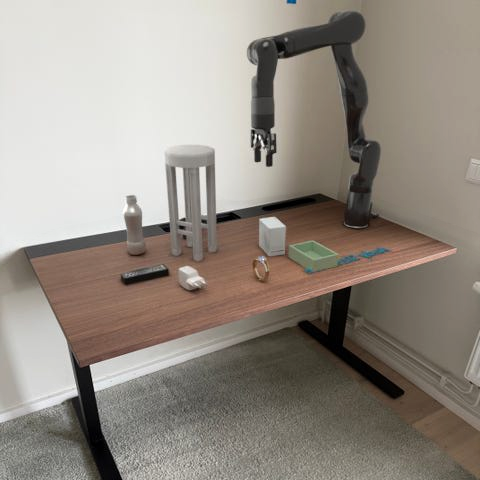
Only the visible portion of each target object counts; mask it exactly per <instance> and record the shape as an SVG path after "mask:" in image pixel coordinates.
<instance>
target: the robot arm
mask: <svg viewBox="0 0 480 480" xmlns="http://www.w3.org/2000/svg"><path fill="white" fill-rule="evenodd" d="M366 26H367V24H366V19H365V17H364V15H363V14H362V13H361V12H359V11H357V10H339V11H335V12H334V13H332V14H331V15H330V17H329V19H328V22H327V23H323V24H318V25H311V26H305V27H301V28H295V29H292V30H288V31H285V32H283V33H280V34H276V35H272V36H265V37H261V38H257V39H254V40H253V41H251V42H250V43H249V44H248V46H247V49H246V59H247V60H248V61H249V63H250V64H251V65H254V66H256V72H255V75H253V76H252V78H251V83H250V85H251V87H250V89H251V91H250V92H251V99H250V100H251V101H250V119H251V120H250V127H251V129H250V148H251V149H252V151H253V162H254V163H261V162H262V150H261V149H263V150H264V153H265V167H267V168H271V167H273V165H274V158H273V157H274V156H273V155H275V154H277V152H278V151H277V133H276V132H275V133H274V132H273V133H272V130H271V129H274V128H275V125H276V124H275V123H276V121H275V119H276V118H275V117H276V116H275V115H276V114H275V112H276V111H275V110H276V109H275V108H276V105H275V104H276V102H275V83H274V82H275V77H276V73H277V69H278V64H279V63H278V62H279V60H286V59H291V58H294V57H298V56H301V55H303V54H307V53H309V52H313V51H317V50H318V49H319V50H320V49H323V48H327V47H330V50H331V52H332V56H333V60H334V64H335V70H336V75H337V79H338V84H339V85H338V86H339V93H340V98H341V99H340V100H341V103H342V108H343V109H342V110H343V115H344V121H345V127H346V136H347V137H346V138H347V139H346V140H347V151H348V157H349V158H350V160H351V161H352V162H354V163H356V164H358V169H357V171H356V172H352V173H351V174H350V175H349V179H348V189H347V198H346V205H345V212H344V221H343V225H344V226H345V227H346V228H349V229H354V230H355V229H356V230H362V229H366V228H367V227H368V226H370V224H371V218H377V217H379V216H380V214H379V213H377V214H373V213H372V209H373V201H372V198H373V197H372V196H373V189H374V183H375V182H374V181H375V179H376V177H377V175H378V172H379V166H380V163H381V162H380V161H381V155H382V146H381V144H380V142H379V141H378V140H375V139H371V138H368V137H367V136H366V132H365V125H364V124H365V118H366V114H367V111H368V108H369V105H370V94H369V85H368V81H367V78H366V76H365V74H364V72H363V70H362V68H361V67H360V65H359V63H358V62H357V59H356V56H355V54H354V51H353V44H356V43H358V42H360V40H361V39H362V38H363V36H364V34H365V33H366Z"/></svg>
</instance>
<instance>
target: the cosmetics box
mask: <svg viewBox="0 0 480 480" xmlns="http://www.w3.org/2000/svg"><path fill="white" fill-rule="evenodd" d="M258 222H259V223H258V226H259V227H258V246H259V248H261V250H262V251H263V252H264V253H265V254H266V255H267V256H268V257H275V256H281V255H285V254H286V238H287V236H286V235H287V226H286V225H285V224H284V222H282V221H280V220H279V219H278V218H277V216H270V217H261V218H259V219H258Z"/></svg>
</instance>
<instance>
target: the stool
mask: <svg viewBox="0 0 480 480" xmlns="http://www.w3.org/2000/svg"><path fill="white" fill-rule="evenodd" d="M163 153H164V167H165V178H166V191H167V194H166V195H167V205H168V218H169V219H168V220H169V231H170V244H171V245H170V246H171V255H172V256H176V257H178V256H180V255H181V254H182V248H181V247H182V245H181V235H182V236H183V235H187V238H186V247H189V248H192V252H193V254H192V255H193V261H195V262H201V261H202V260H203V259H204V257H203V255H204V254H203V230H202V229H207V252H209V253H215V252H216V251H218V240H217V239H218V235H217V233H218V232H217V227H216V226H217V193H216V187H217V186H216V150H215V148H214V147H211V146H209V145H202V144H180V145H172V146H169V147H167V148H166V149H165V150H164V152H163ZM203 167H205V192H206V195H205V196H206V215H205V214H202V204H201V203H202V202H201V201H202V200H201V179H200V168H203ZM176 168H180V169H182V179H183V180H182V181H183V182H182V183H183V199H184V215H185V217H184V218H186V222H184V221H179V220H180V216H179V215H180V213H179V201H178V199H179V198H178V183H177V169H176ZM201 219H204V220H207V224H206V223H204V222H202V221H201ZM180 226H181V227H185V226H186V231H185V230H184V229H180Z"/></svg>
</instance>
